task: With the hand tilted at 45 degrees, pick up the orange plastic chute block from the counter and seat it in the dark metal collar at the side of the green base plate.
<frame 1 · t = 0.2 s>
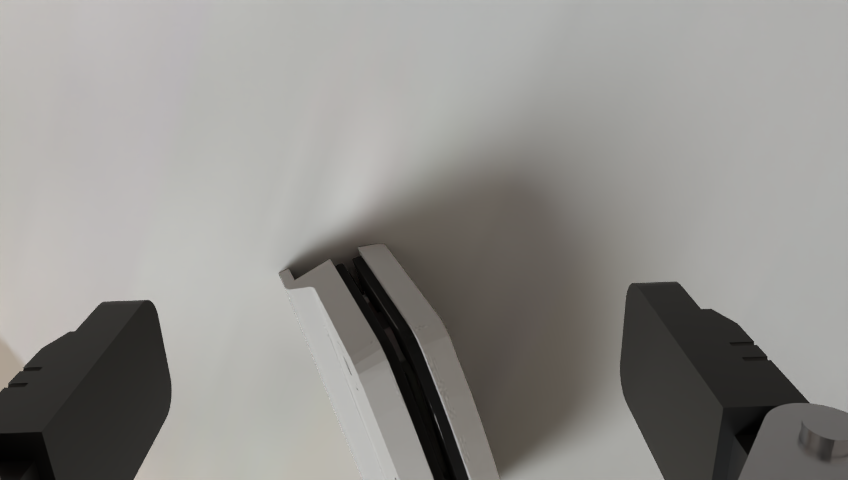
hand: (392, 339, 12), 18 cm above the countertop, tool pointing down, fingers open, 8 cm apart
white console: (407, 385, 35), on the countertop
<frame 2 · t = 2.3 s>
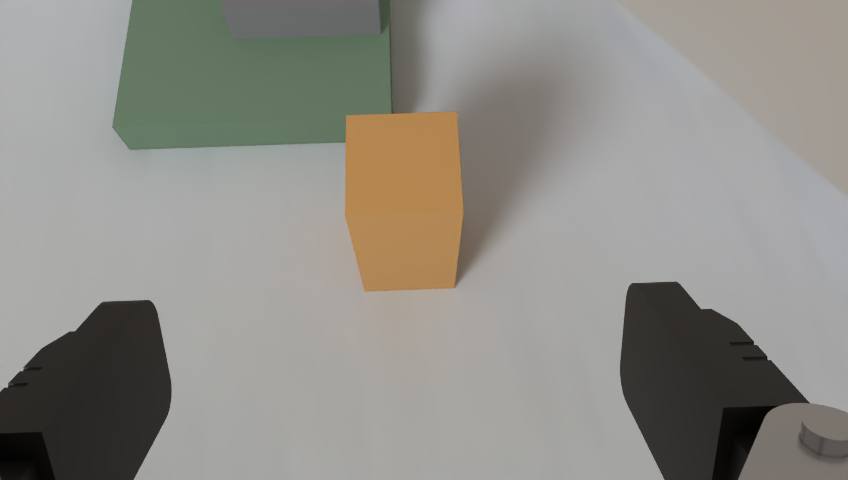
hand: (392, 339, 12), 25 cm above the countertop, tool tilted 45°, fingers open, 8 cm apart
green base plate: (270, 2, 46), on the countertop
chute block: (408, 248, 39), on the countertop
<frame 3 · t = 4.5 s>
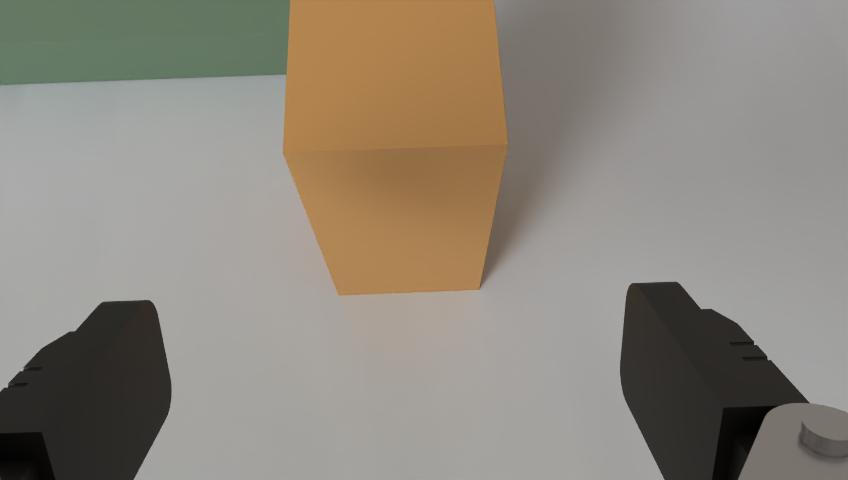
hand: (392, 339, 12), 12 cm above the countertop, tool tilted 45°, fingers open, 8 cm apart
chute block: (406, 228, 25), on the countertop
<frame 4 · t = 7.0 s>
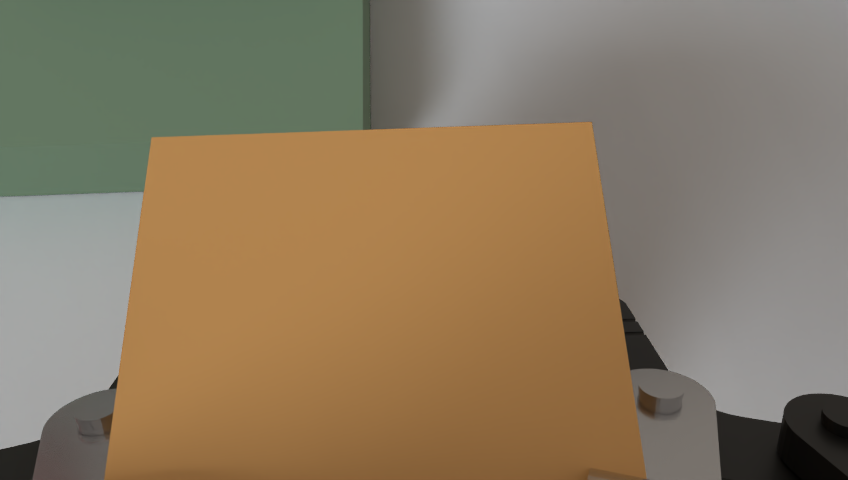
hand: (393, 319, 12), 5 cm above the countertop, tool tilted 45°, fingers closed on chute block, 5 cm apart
chute block: (405, 452, 16), on the countertop, touching gripper
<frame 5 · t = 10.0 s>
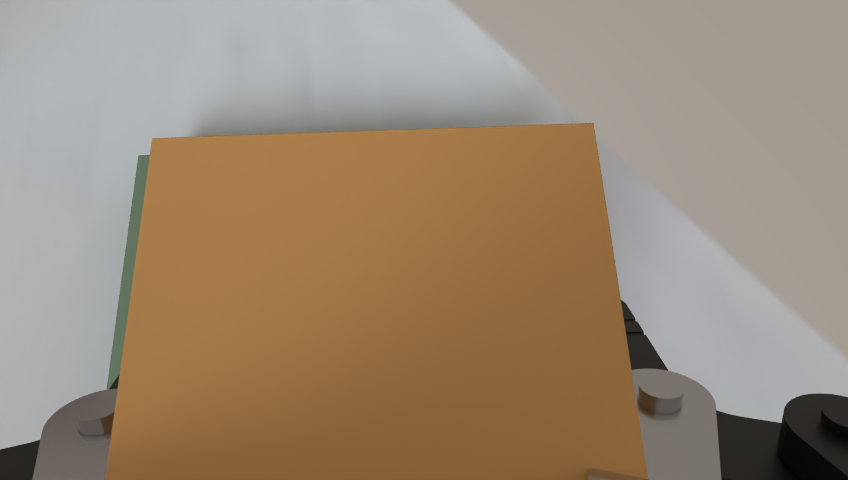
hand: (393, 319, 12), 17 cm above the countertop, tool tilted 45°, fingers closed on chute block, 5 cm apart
green base plate: (325, 408, 28), on the countertop
chute block: (406, 453, 16), point 12 cm above the countertop, touching gripper
when the fingers open (8 cm above the countertop, at t = 12.8 s): chute block drops 1 cm, resting on green base plate.
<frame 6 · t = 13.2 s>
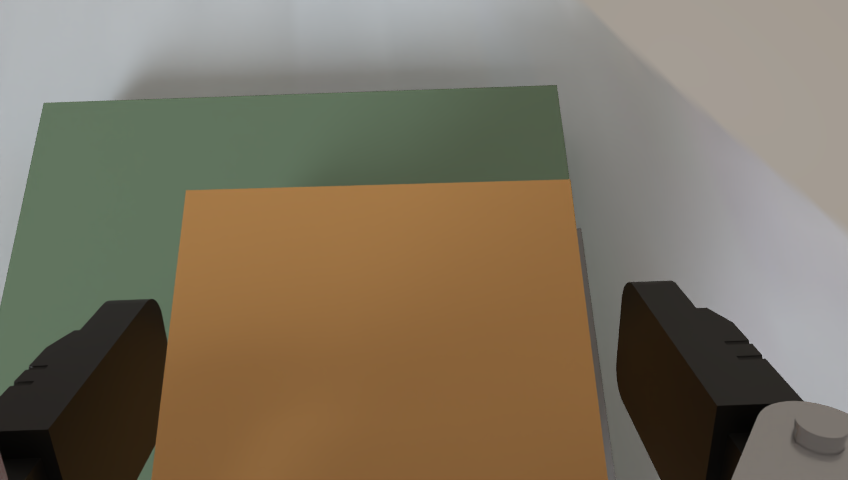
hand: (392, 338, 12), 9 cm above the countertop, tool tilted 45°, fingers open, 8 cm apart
green base plate: (303, 470, 19), on the countertop
chute block: (405, 459, 17), point 2 cm above the countertop, touching green base plate
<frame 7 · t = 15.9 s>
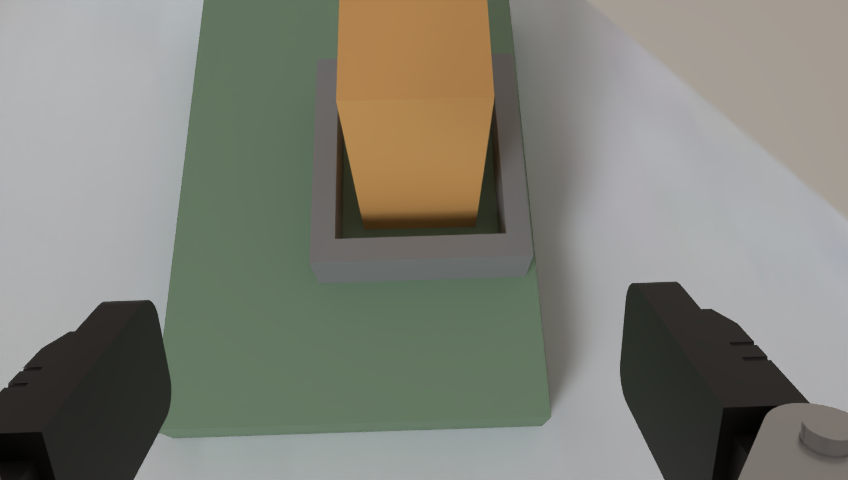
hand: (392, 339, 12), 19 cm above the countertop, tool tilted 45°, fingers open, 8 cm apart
green base plate: (359, 204, 34), on the countertop
chute block: (418, 178, 32), point 2 cm above the countertop, touching green base plate
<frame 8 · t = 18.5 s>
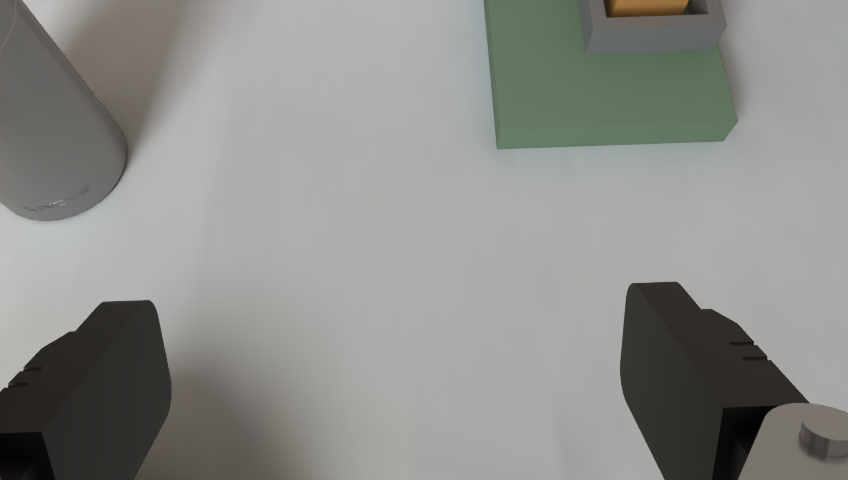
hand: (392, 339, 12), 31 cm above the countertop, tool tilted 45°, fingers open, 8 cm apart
green base plate: (589, 20, 53), on the countertop
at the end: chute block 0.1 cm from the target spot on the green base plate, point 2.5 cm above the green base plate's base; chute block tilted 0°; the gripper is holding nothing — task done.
